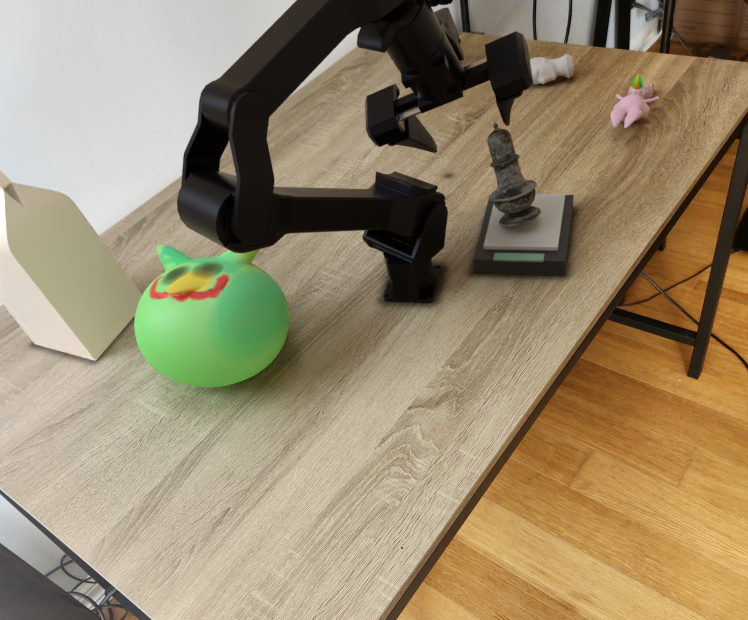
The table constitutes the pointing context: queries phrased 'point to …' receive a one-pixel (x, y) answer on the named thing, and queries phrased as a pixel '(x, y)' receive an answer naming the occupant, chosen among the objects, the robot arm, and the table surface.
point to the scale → (527, 240)
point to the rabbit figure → (633, 103)
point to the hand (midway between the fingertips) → (470, 136)
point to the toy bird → (211, 318)
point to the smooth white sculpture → (551, 68)
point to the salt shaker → (510, 181)
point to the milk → (60, 273)
